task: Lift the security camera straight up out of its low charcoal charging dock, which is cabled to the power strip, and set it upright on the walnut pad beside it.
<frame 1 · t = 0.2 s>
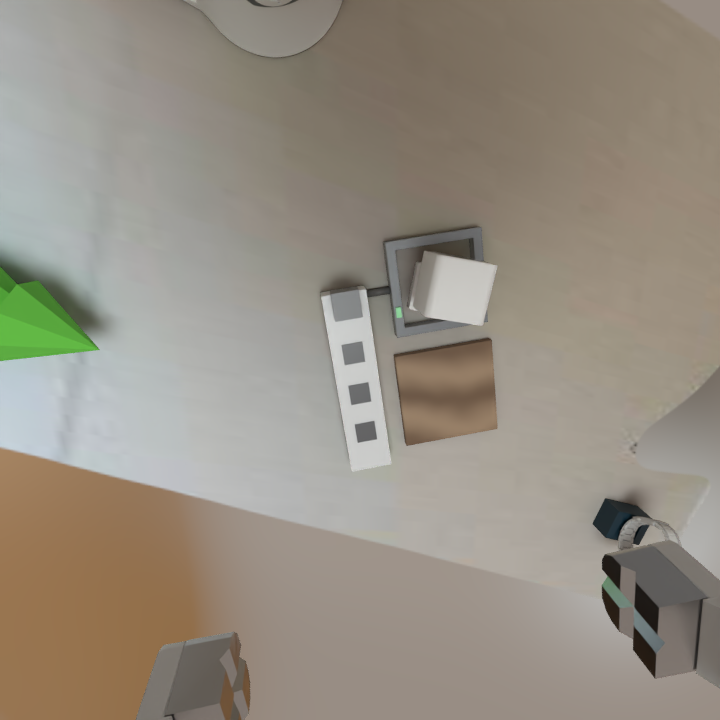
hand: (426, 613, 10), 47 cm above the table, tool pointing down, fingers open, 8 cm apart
security camera: (434, 281, 57), resting in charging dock
walnut pad: (445, 391, 61), on the table
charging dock: (435, 281, 56), on the table
power strip: (355, 377, 59), on the table
watch: (614, 514, 70), on the table
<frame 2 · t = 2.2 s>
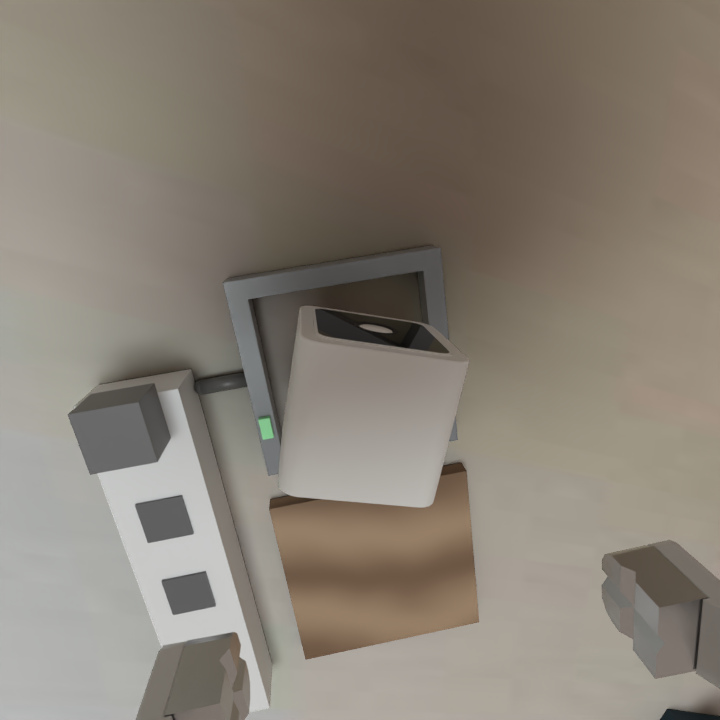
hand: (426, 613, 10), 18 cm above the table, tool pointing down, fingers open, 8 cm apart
security camera: (347, 358, 27), resting in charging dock
walnut pad: (379, 559, 31), on the table
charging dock: (347, 359, 27), on the table
power strip: (196, 542, 29), on the table
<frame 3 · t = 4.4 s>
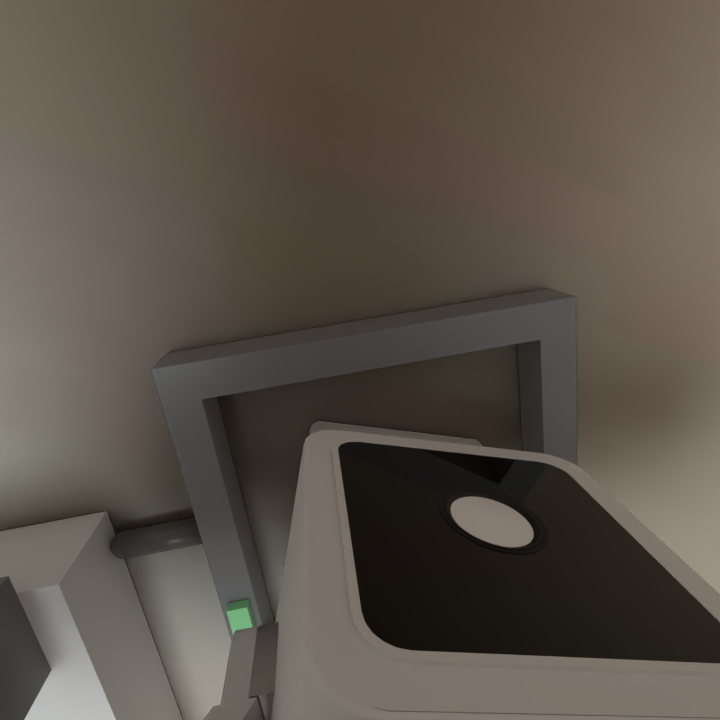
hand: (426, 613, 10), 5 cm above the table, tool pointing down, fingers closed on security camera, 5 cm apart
security camera: (386, 482, 15), resting in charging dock, touching gripper
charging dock: (387, 486, 15), on the table
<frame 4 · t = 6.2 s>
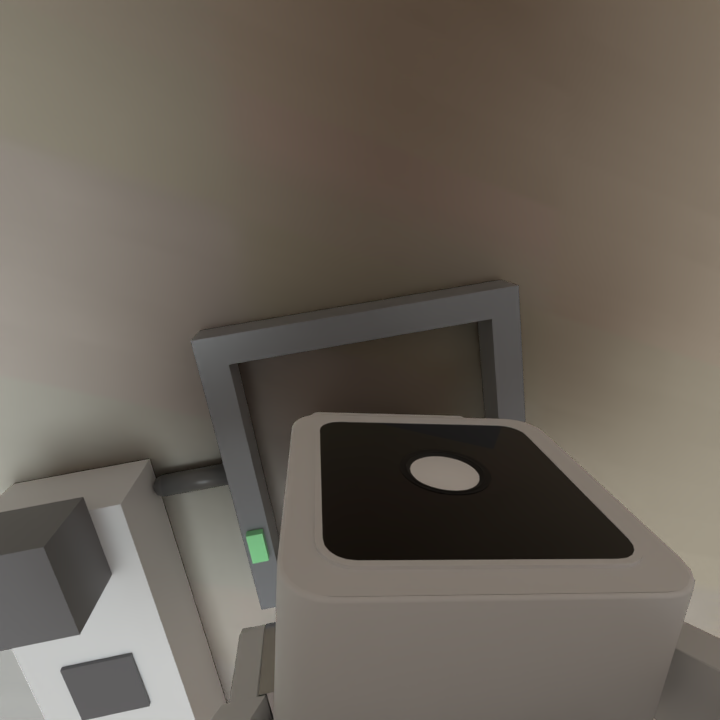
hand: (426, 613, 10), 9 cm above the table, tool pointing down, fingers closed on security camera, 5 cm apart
security camera: (384, 462, 17), point 2 cm above the table, touching gripper
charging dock: (374, 441, 19), on the table
power strip: (161, 689, 21), on the table
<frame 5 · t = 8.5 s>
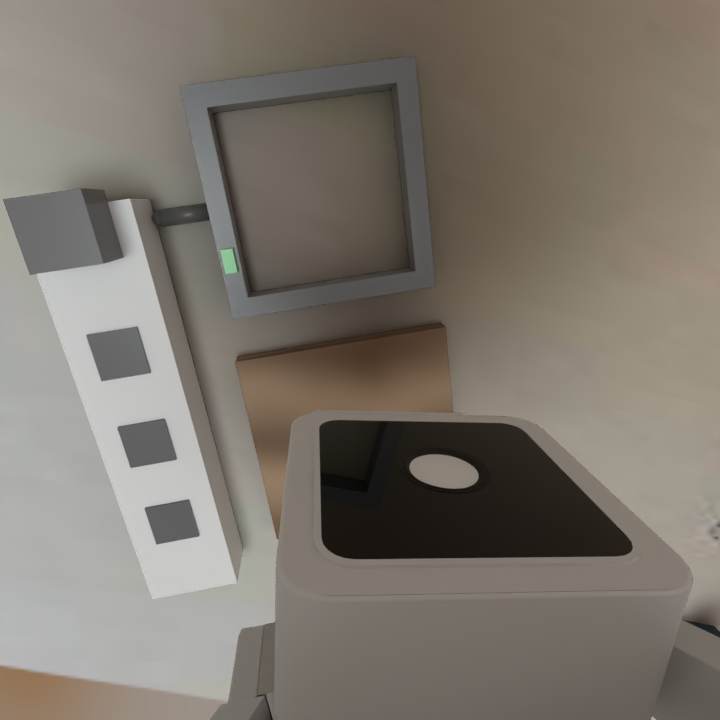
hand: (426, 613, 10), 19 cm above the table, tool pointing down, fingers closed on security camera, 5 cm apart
security camera: (384, 460, 17), point 12 cm above the table, touching gripper
walnut pad: (355, 431, 30), on the table
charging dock: (317, 195, 25), on the table
power strip: (158, 403, 28), on the table
when the fingers open (8 cm above the table, at t = 11.1 s): security camera stays where it is, resting on walnut pad.
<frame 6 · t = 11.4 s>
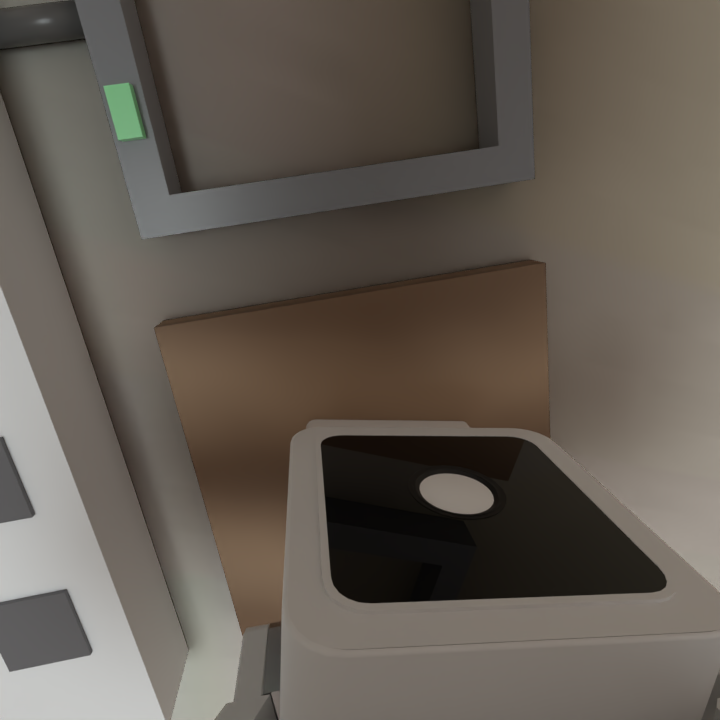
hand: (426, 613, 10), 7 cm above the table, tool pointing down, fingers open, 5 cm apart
security camera: (384, 470, 17), point 1 cm above the table, touching gripper, walnut pad
walnut pad: (376, 453, 17), on the table
power strip: (22, 407, 15), on the table
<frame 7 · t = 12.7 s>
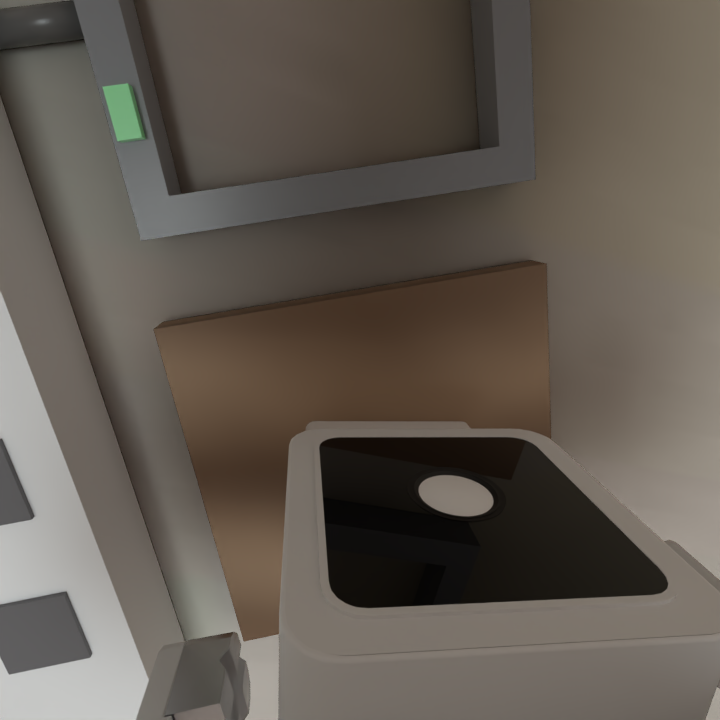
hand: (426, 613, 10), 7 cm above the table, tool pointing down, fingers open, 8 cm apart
security camera: (384, 471, 17), point 1 cm above the table, touching walnut pad
walnut pad: (377, 455, 17), on the table
power strip: (21, 408, 15), on the table
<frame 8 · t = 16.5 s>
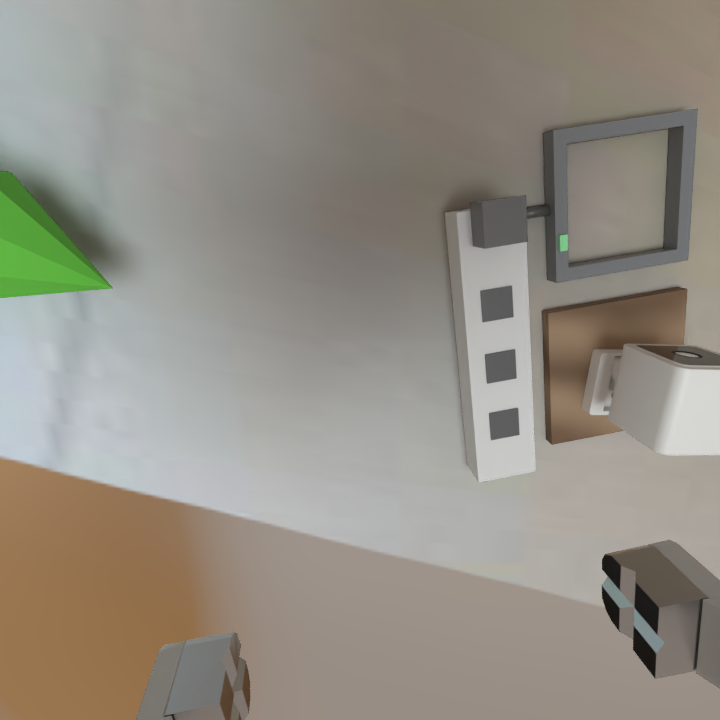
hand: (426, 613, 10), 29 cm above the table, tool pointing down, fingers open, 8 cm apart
security camera: (616, 370, 41), point 1 cm above the table, touching walnut pad
walnut pad: (610, 365, 42), on the table
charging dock: (612, 199, 38), on the table
power strip: (485, 344, 40), on the table
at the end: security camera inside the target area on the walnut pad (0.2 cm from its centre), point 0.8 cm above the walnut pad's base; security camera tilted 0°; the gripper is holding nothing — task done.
